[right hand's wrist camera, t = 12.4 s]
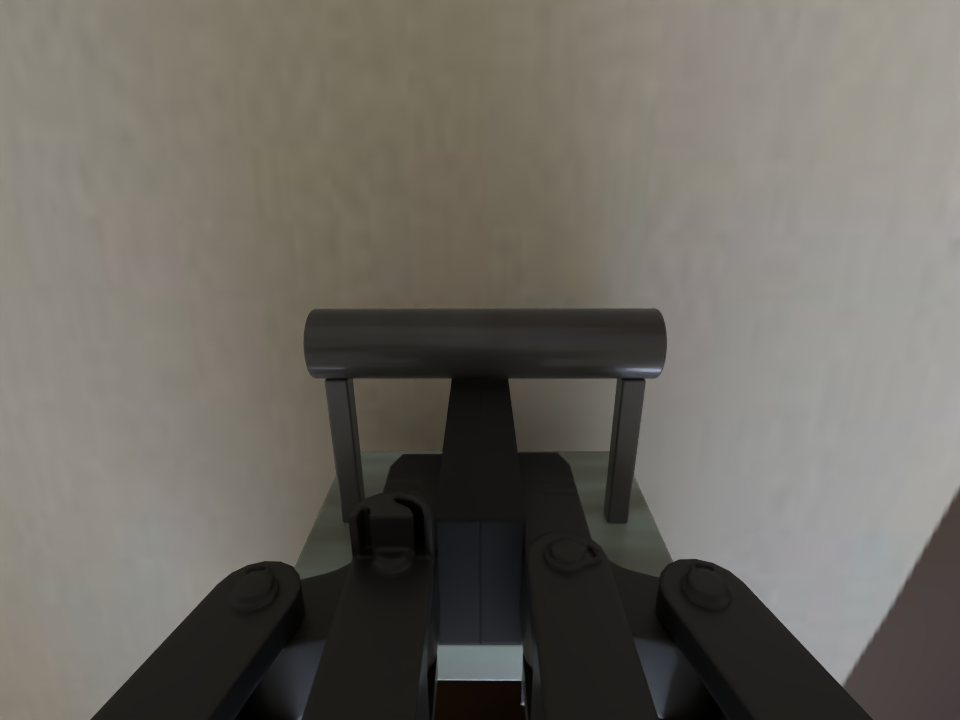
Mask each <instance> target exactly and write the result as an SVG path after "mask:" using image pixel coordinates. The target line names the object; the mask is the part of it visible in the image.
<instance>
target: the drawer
mask: <svg viewBox="0 0 960 720" xmlns="http://www.w3.org/2000/svg"><path fill="white" fill-rule="evenodd" d="M666 349H667V336H666V327H665V323H664V319H663V316H662V314H661V312H660V311H659V310H658V309H655V308H651V309H314V310H312V311H311V312H310V313H309V315H308V317H307V321H306V325H305V330H304V355H305V361H306V365H307V368H308V371H309V373H310V375H311V376H312V377H314V378H317V379H326V380H325V388H326V396H327V403H328V411H329V419H330V427H331V435H332V443H333V450H334V458H335V466H336V474H337V475H336V477H335V479H334V481H333V483H332V486H331V488H330V490H329V492H328V495H327V497H326V499H325V501H324V503H323V506H322V508H321V510H320V512H319V515H318V517H317V519H316V521H315V523H314V526H313V528H312V530H311V532H310V535H309V537H308V539H307V541H306V543H305V546H304V548H303V550H302V552H301V555H300V557H299V559H298V561H297V563H296V566H295V568H294V569H295V570H296V571H297V572H298V574H299V575H300V579H305V578H309V577H313V576H317V575H321V574H325V573H328V572H331V571H334V570H338V569H340V568H341V567H343V566H345V565H347V564H349V563H350V562H351V561H352V558H353V557H352V547H351V538H350V529H349V520H348V515H349V514H350V512H351V511H352V509H353V508H354V506H356V505H357V504H358V503H360V502H361V501H363V500H364V499H366V498H368V497H371V496H373V495H376V494H379V493H383V489H384V486H385V484H386V479H387V476H388V472H389V469H390V466H391V465H392V464H393V463H394V462H395V461H396V460H397V459H398V458H399V457H400V456H401V455H402V454H442V452H443V451H360V444H359V435H358V425H357V416H356V406H355V397H354V387H353V379H605V378H617V386H616V396H615V405H614V415H613V424H612V434H611V444H610V451H517V452H557V453H558V454H559V455H560V456H561V457H563V458H564V459H565V460H566V461H567V462H568V463H569V464H570V467H571V470H572V474H573V477H574V482H575V484H576V487H577V491H578V494H579V497H580V501H581V504H582V507H583V511H584V514H585V518H586V521H587V524H588V528H589V531H590V535H591V538H592V540H593V541H595V542H596V543H597V544H599V545H600V546H601V547H602V549H603V551H604V552H605V554H606V556H607V557H608V559H609V560H610V561H611V562H613V563H615V564H617V565H619V566H621V567H623V568H626V569H629V570H632V571H635V572H639V573H643V574H647V575H651V576H655V577H660V573H661V572H662V571H663V569H664V568H665V567H666V566H667V564H670V563H672V562H673V561H672V559H671V556H670V554H669V552H668V550H667V548H666V545H665V543H664V541H663V539H662V536H661V534H660V532H659V530H658V528H657V525H656V523H655V521H654V519H653V517H652V514H651V512H650V510H649V508H648V506H647V503H646V501H645V499H644V497H643V494H642V492H641V490H640V488H639V486H638V483H637V481H636V479H635V477H634V469H635V461H636V453H637V445H638V437H639V429H640V422H641V414H642V406H643V398H644V390H645V382H646V381H645V379H644V378H657V377H658V376H659V375H660V374H661V372H662V369H663V367H664V363H665V358H666ZM437 663H438V679H437V692H436V705H435V717H434V720H526V717H525V705H521V688H522V663H523V645H522V643H521V645H439V643H438V647H437Z"/></svg>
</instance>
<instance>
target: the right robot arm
mask: <svg viewBox="0 0 960 720" xmlns="http://www.w3.org/2000/svg"><path fill="white" fill-rule="evenodd" d="M348 520H349V529H350V538H351V547H352V557H353V558H352V561H351V562H350V563H349V564H347V565H345V566H343V567H341V568H340V569H338V570H334V571H331V572H328V573H325V574H321V575H317V576H313V577H309V578H305V579H300V575H299V574H298V572H297V571H296V570H295V569H294V567H293V566H290V565H288V564H285V563H283V562H274V561H264V562H259V563H255V564H251V565H247V566H245V567H243V568H241V569H239V570H237V571H235V572H233V573H231V574H230V575H228V576H227V577H226V578H225V579H223V580H222V581H221V582H220V583H219V584H217V585H216V586H215V588H214V589H213V590H212V591H211V592H210V593H209V594H208V595H207V596H206V597H205V598H204V599H203V600H202V601H201V602H200V604H199V605H198V606H197V607H196V608H195V609H194V610H193V611H192V612H191V613H190V614H189V615H188V616H187V617H186V618H185V620H184V621H183V622H182V623H181V624H180V625H179V626H178V627H177V628H176V629H175V630H174V631H173V632H172V633H171V634H170V636H169V637H168V638H167V639H166V640H165V641H164V642H163V643H162V644H161V645H160V646H159V647H158V648H157V649H156V650H155V652H154V653H153V654H152V655H151V656H150V657H149V658H148V659H147V660H146V661H145V662H144V663H143V664H142V665H141V666H140V667H139V669H138V670H137V671H136V672H135V673H134V674H133V675H132V676H131V677H130V678H129V679H128V680H127V681H126V682H125V683H124V685H123V686H122V687H121V688H120V689H119V690H118V691H117V692H116V693H115V694H114V695H113V696H112V697H111V698H110V699H109V701H108V702H107V703H106V704H105V705H104V706H103V707H102V708H101V709H100V710H99V711H98V712H97V713H96V714H95V715H94V717H93V718H92V719H91V720H434V717H435V705H436V692H437V679H438V663H437V647H438V643H439V645H521V643H522V645H523V663H522V688H521V705H525V717H526V720H873V719H872V718H871V717H870V716H869V715H868V714H867V713H866V712H865V711H864V710H863V709H862V708H861V707H860V705H859V704H858V703H857V702H856V701H855V700H854V699H853V698H852V697H851V696H850V695H849V694H848V693H847V692H846V691H845V690H844V689H843V687H842V686H841V685H840V684H839V683H838V682H837V681H836V680H835V679H834V678H833V677H832V676H831V675H830V674H829V673H828V672H827V671H826V669H825V668H824V667H823V666H822V665H821V664H820V663H819V662H818V661H817V660H816V659H815V658H814V657H813V656H812V655H811V654H810V653H809V651H808V650H807V649H806V648H805V647H804V646H803V645H802V644H801V643H800V642H799V641H798V640H797V639H796V638H795V637H794V636H793V635H792V633H791V632H790V631H789V630H788V629H787V628H786V627H785V626H784V625H783V624H782V623H781V622H780V621H779V620H778V619H777V618H776V617H775V615H774V614H773V613H772V612H771V611H770V610H769V609H768V608H767V607H766V606H765V605H764V604H763V603H762V602H761V601H760V600H759V599H758V597H757V596H756V595H755V594H754V593H753V592H752V591H751V590H750V589H749V588H748V587H747V586H746V585H745V584H744V583H743V582H742V581H741V580H740V579H739V578H737V577H736V576H735V575H734V574H732V573H731V572H730V571H728V570H726V569H724V568H722V567H720V566H718V565H716V564H714V563H710V562H706V561H702V560H697V559H681V560H677V561H675V562H672V563H670V564H667V566H666V567H665V568H664V569H663V571H662V572H661V573H660V577H655V576H651V575H647V574H643V573H639V572H635V571H632V570H629V569H626V568H623V567H621V566H619V565H617V564H615V563H613V562H611V561H610V560H609V559H608V557H607V556H606V554H605V552H604V551H603V549H602V547H601V546H600V545H599V544H597V543H596V542H595V541H593V540H592V538H591V535H590V531H589V528H588V524H587V521H586V518H585V514H584V511H583V507H582V504H581V501H580V497H579V494H578V491H577V487H576V484H575V482H574V477H573V474H572V470H571V467H570V464H569V463H568V462H567V461H566V460H565V459H564V458H563V457H561V456H560V455H559V454H558V453H557V452H517V445H516V437H515V429H514V421H513V413H512V406H511V398H510V390H509V382H508V379H452V382H451V390H450V398H449V405H448V413H447V421H446V429H445V437H444V444H443V452H442V454H402V455H401V456H400V457H399V458H398V459H397V460H396V461H395V462H394V463H393V464H392V465H391V466H390V469H389V472H388V476H387V479H386V484H385V486H384V489H383V493H379V494H376V495H373V496H371V497H368V498H366V499H364V500H363V501H361V502H360V503H358V504H357V505H356V506H354V508H353V509H352V511H351V512H350V514H349V515H348Z"/></svg>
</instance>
